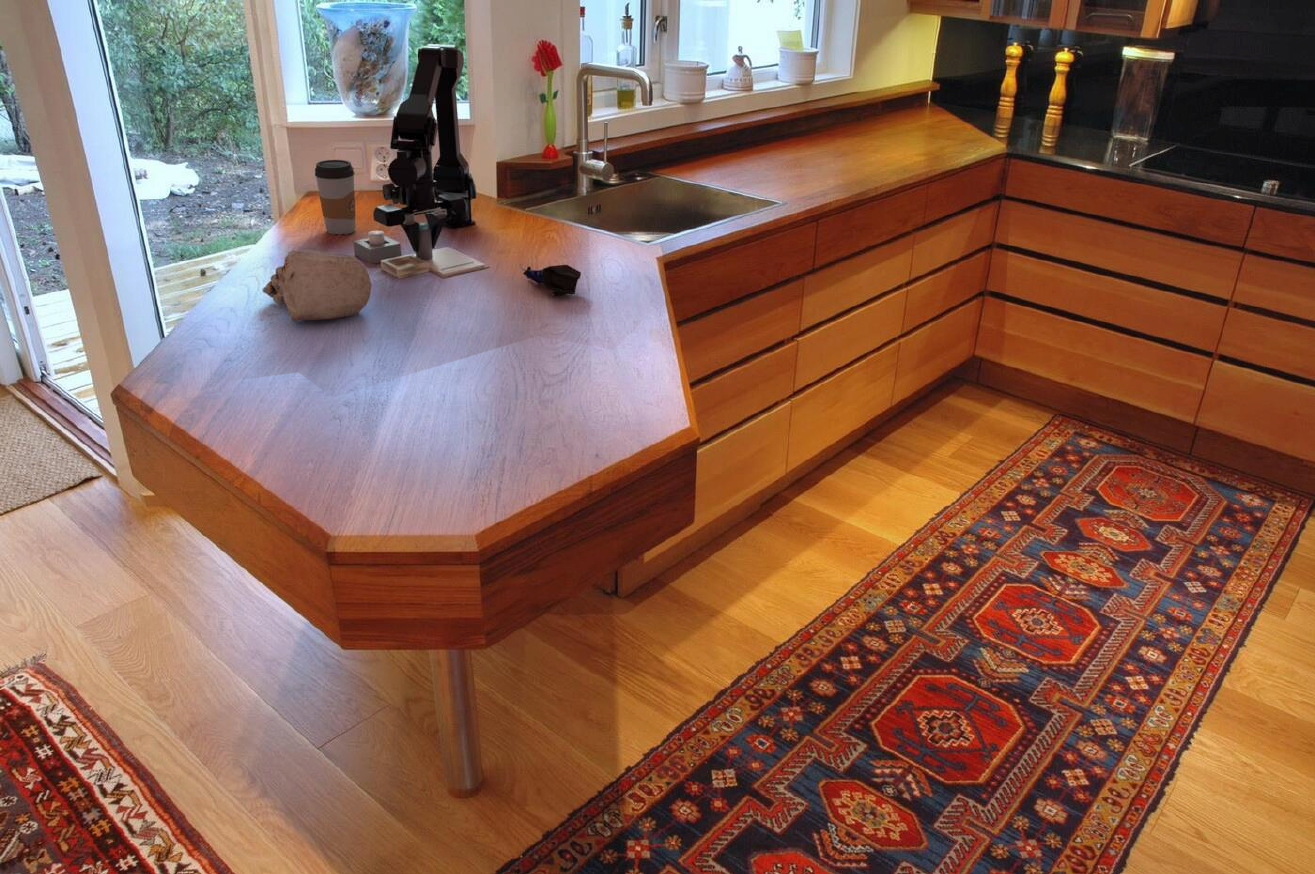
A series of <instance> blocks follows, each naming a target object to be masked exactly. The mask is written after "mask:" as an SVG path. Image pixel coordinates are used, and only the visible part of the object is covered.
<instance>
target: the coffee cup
mask: <svg viewBox="0 0 1315 874" xmlns="http://www.w3.org/2000/svg"><path fill="white" fill-rule="evenodd" d="M315 165H316V166H315V168H314V176H315V178H316V183H317V189H318V196H319V201H320V207H321V211H322V217H323V220H324V225H325V230H326V231H327V233H329V234H330V233H331V235H334V234H338V235H337V236H342V235H341V234H345V235H349V233H350V234H352V233H354V232H355V230H356V229H357V228H356V226H357V225H356V193H355V178H354V177H355V176H354V175H355V174H356V173H355V171H354V167H353V166H352V163H351V161H349V160H344V159H326V160H320V161H318V162H317V163H315Z"/></svg>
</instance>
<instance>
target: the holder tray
mask: <svg viewBox="0 0 1315 874" xmlns="http://www.w3.org/2000/svg"><path fill="white" fill-rule="evenodd" d="M380 265H381V266H380V268H381V270H382V271H384V272H386V273H388V274H391V275H392V276H394V277H396V278H398V279H403V278H407V277H413V276H417V275H421V274H424V273H430V272H429V270H430V268H429V263H428V262H426V261H424V260H422V259H420V258H418V257H416V256H414V255H413V254H412V253H410V254H405V255H401V256H399V257H395V258H390V259H385V260H381V262H380Z"/></svg>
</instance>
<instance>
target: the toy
mask: <svg viewBox="0 0 1315 874" xmlns="http://www.w3.org/2000/svg"><path fill="white" fill-rule="evenodd" d="M518 268H520V270H522V271H524V272H523V273H522V274H523V275H524V276H525V277H526V278H527V279H530V280H531V281H533V282H535V283H537V284H538V283H542V284H543V285H544V286H545V288H546V289H547V290H549V291H551V292H552V293H551V295H552V294H554V295H553V296H556V295H555V294H558V295H560V296H566V295H567V294H570V295H576V290H577V289H576V288H577V285H578V281H579V280H580V278H581V275H582V272H581V271H579V270H577V269H575V268H574V267H572V266H570V265H568V264H561V265H560V264H559V265H550V266H546V267H543V269H538V270H536V269H534V270H533V269H532V267H531V266H527V269H525V268H523V267H522V264H518Z"/></svg>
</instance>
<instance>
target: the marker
mask: <svg viewBox="0 0 1315 874" xmlns="http://www.w3.org/2000/svg"><path fill="white" fill-rule="evenodd" d="M418 223H419V249H418V252H417V253H416V252H415V254H416V257H418V258H420V259H422V260H429V259H432V258H433V252H432V250H433V249H432V238H431V228H429V224H428V222H418Z"/></svg>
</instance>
